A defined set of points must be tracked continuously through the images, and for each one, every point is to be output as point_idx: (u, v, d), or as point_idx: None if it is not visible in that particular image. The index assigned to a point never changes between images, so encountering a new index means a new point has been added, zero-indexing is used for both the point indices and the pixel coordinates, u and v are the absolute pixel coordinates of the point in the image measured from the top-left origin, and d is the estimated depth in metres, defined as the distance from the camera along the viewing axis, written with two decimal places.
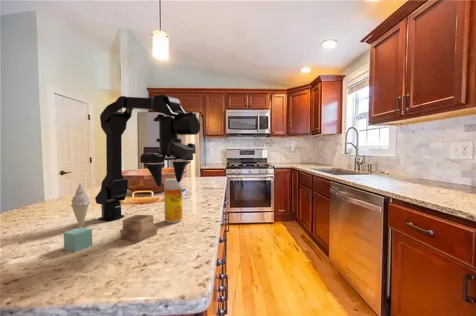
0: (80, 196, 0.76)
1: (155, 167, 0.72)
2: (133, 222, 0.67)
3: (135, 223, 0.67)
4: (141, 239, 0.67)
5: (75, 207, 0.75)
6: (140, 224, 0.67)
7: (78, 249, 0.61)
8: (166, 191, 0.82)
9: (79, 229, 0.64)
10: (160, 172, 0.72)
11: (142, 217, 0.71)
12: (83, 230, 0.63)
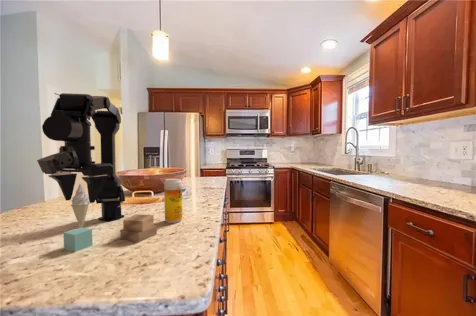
0: (80, 196, 0.76)
1: None
2: (134, 222, 0.68)
3: (136, 223, 0.68)
4: (141, 239, 0.67)
5: (75, 207, 0.75)
6: (141, 224, 0.67)
7: (78, 249, 0.61)
8: (166, 191, 0.82)
9: (79, 229, 0.64)
10: (62, 185, 0.64)
11: (142, 217, 0.71)
12: (83, 230, 0.63)
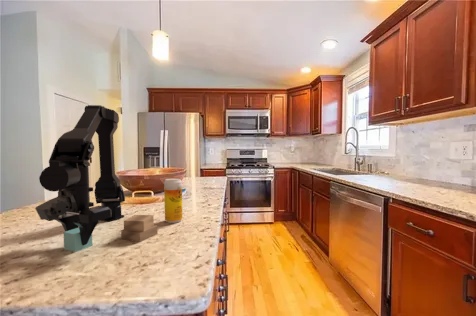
0: None
1: None
2: (135, 222, 0.68)
3: (137, 223, 0.67)
4: (142, 239, 0.67)
5: None
6: (142, 224, 0.67)
7: (78, 249, 0.61)
8: (166, 191, 0.82)
9: None
10: (66, 227, 0.63)
11: (143, 217, 0.71)
12: None
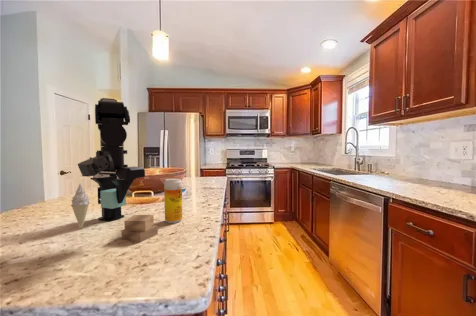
0: (80, 196, 0.76)
1: None
2: (136, 222, 0.68)
3: (138, 223, 0.68)
4: (142, 239, 0.67)
5: (75, 207, 0.75)
6: (144, 224, 0.67)
7: (114, 206, 0.65)
8: (166, 191, 0.82)
9: (114, 189, 0.68)
10: (102, 187, 0.67)
11: (143, 217, 0.71)
12: None
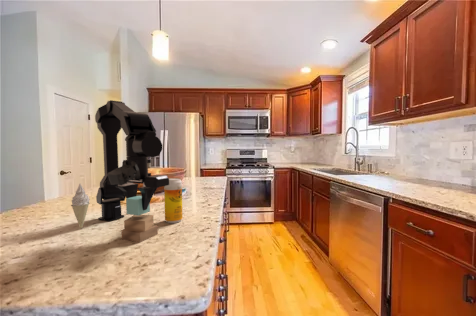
0: (80, 196, 0.76)
1: None
2: (136, 222, 0.67)
3: (138, 223, 0.67)
4: (142, 239, 0.67)
5: (75, 207, 0.75)
6: (143, 224, 0.67)
7: (140, 213, 0.68)
8: (166, 191, 0.82)
9: (138, 196, 0.71)
10: (127, 194, 0.70)
11: (143, 217, 0.71)
12: None
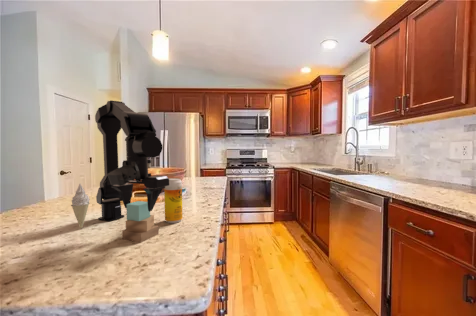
0: (80, 196, 0.76)
1: None
2: (138, 222, 0.68)
3: (140, 223, 0.68)
4: (143, 239, 0.67)
5: (75, 207, 0.75)
6: (146, 224, 0.68)
7: (141, 219, 0.68)
8: (166, 191, 0.82)
9: (138, 202, 0.71)
10: (122, 194, 0.71)
11: None
12: (143, 202, 0.70)
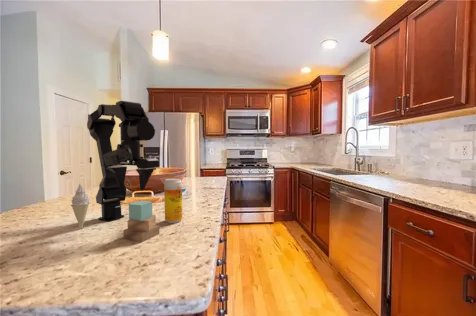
0: (80, 196, 0.76)
1: None
2: (140, 222, 0.68)
3: (141, 223, 0.68)
4: (144, 239, 0.67)
5: (75, 207, 0.75)
6: (147, 224, 0.68)
7: (143, 218, 0.68)
8: (166, 191, 0.82)
9: (140, 201, 0.71)
10: (117, 175, 0.78)
11: None
12: (145, 202, 0.71)
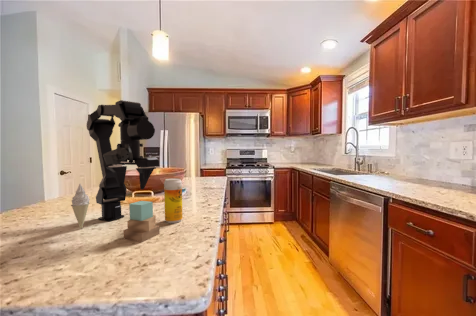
0: (80, 196, 0.76)
1: None
2: (139, 222, 0.68)
3: (141, 223, 0.68)
4: (144, 239, 0.67)
5: (75, 207, 0.75)
6: (147, 224, 0.68)
7: (143, 218, 0.68)
8: (166, 191, 0.82)
9: (141, 202, 0.72)
10: (117, 175, 0.79)
11: None
12: (145, 202, 0.71)
